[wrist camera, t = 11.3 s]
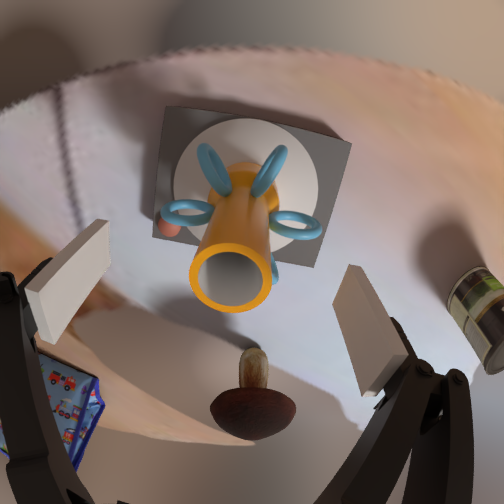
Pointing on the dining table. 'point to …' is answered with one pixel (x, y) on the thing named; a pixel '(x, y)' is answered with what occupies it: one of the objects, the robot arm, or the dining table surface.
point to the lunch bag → (69, 406)
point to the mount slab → (255, 151)
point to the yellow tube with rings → (238, 230)
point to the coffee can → (481, 315)
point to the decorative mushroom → (253, 402)
